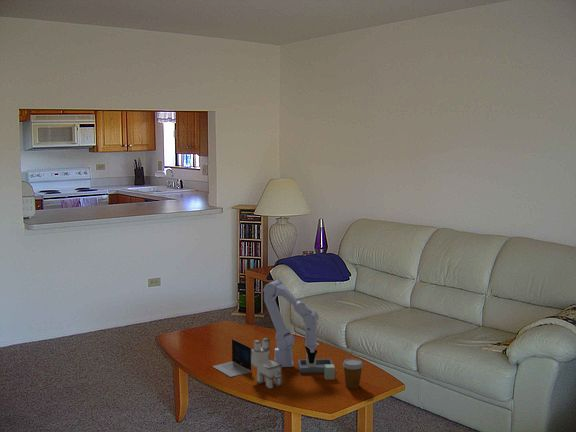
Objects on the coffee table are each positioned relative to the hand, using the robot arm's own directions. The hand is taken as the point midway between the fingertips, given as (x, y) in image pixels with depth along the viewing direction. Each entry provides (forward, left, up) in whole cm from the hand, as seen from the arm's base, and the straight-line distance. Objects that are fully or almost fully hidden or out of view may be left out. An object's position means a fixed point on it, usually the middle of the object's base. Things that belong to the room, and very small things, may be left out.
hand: (310, 361), depth 334 cm
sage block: (+8, -12, -4) cm, 15 cm away
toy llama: (-23, -16, -4) cm, 28 cm away
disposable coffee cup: (+17, -23, -4) cm, 30 cm away
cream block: (0, 0, -1) cm, 1 cm away
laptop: (-40, +3, -5) cm, 41 cm away
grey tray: (+2, 0, -4) cm, 5 cm away
